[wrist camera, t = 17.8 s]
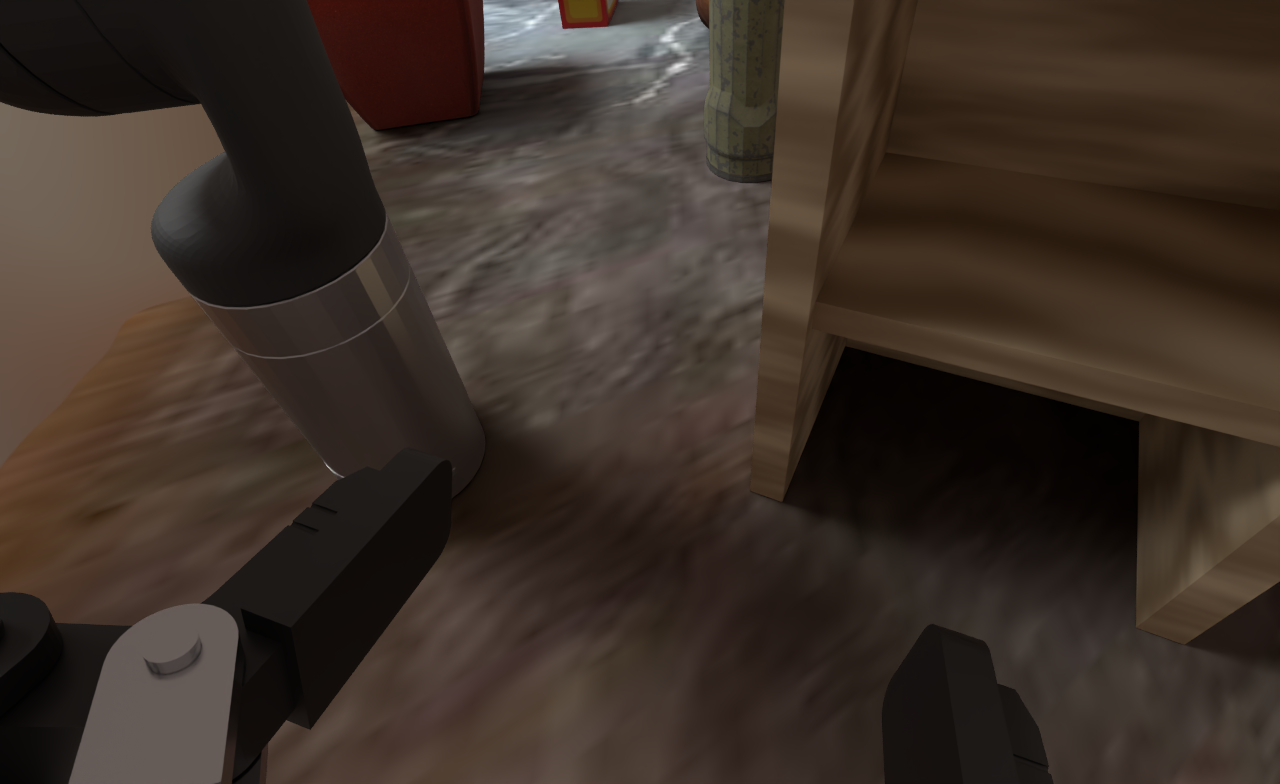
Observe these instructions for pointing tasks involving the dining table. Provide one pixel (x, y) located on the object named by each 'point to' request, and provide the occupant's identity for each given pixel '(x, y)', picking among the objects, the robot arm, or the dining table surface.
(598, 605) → the dining table surface
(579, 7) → the baking soda box
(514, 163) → the dining table surface
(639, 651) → the dining table surface
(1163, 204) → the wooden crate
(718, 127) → the thermos
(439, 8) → the plant pot
